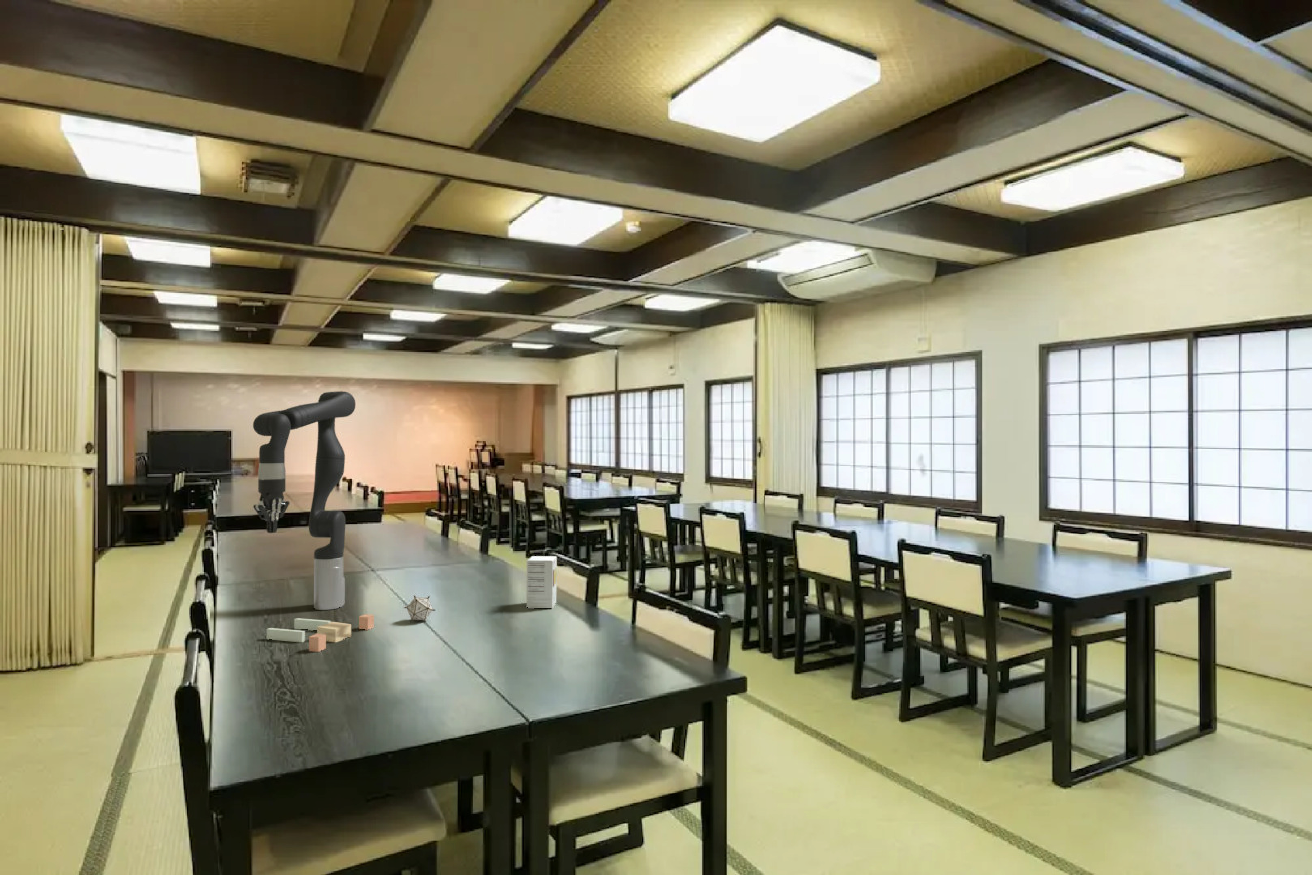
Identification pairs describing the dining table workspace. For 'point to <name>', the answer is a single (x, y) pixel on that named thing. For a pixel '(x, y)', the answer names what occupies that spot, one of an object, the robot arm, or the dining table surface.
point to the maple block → (335, 631)
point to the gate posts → (319, 640)
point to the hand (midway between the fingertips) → (271, 532)
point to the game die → (419, 608)
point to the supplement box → (541, 581)
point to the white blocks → (295, 634)
